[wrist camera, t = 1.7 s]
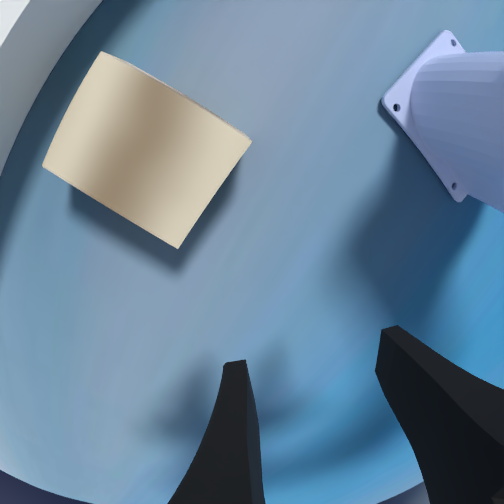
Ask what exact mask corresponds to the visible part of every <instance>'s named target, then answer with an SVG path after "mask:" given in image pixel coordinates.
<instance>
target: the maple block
mask: <svg viewBox="0 0 504 504" xmlns="http://www.w3.org/2000/svg"><path fill="white" fill-rule="evenodd" d="M251 143H252V141H251V140H250V139H249V138H248V137H247V135H246V134H244V133H243V132H241V131H240V130H238V129H237V128H235V127H234V126H232V125H231V124H229V123H228V122H226V121H225V120H223V119H222V118H220V117H219V116H217V115H216V114H214V113H212V112H211V111H209V110H208V109H206V108H205V107H203V106H201V105H200V104H198V103H197V102H195V101H193V100H192V99H190V98H189V97H187V96H185V95H184V94H182V93H180V92H179V91H177V90H175V89H174V88H172V87H170V86H169V85H167V84H165V83H164V82H162V81H160V80H158V79H157V78H155V77H153V76H151V75H150V74H148V73H146V72H144V71H143V70H141V69H139V68H137V67H135V66H133V65H132V64H130V63H128V62H126V61H124V60H122V59H119V58H117V57H114V56H112V55H110V54H107V53H105V52H102V51H101V52H100V54H99V55H98V57H97V58H96V60H95V61H94V63H93V65H92V66H91V68H90V70H89V71H88V73H87V75H86V76H85V78H84V80H83V82H82V83H81V85H80V87H79V89H78V90H77V92H76V94H75V96H74V98H73V100H72V102H71V103H70V105H69V107H68V109H67V111H66V113H65V115H64V117H63V119H62V121H61V123H60V125H59V128H58V130H57V132H56V134H55V136H54V138H53V141H52V143H51V145H50V148H49V150H48V152H47V155H46V157H45V159H44V162H43V164H42V166H43V167H44V168H46V169H47V170H49V171H50V172H52V173H54V174H55V175H57V176H58V177H60V178H61V179H63V180H65V181H66V182H68V183H69V184H71V185H73V186H74V187H76V188H77V189H79V190H81V191H82V192H84V193H85V194H87V195H89V196H90V197H92V198H93V199H95V200H97V201H98V202H100V203H102V204H103V205H105V206H106V207H108V208H110V209H111V210H113V211H115V212H116V213H118V214H120V215H121V216H123V217H125V218H126V219H128V220H129V221H131V222H133V223H134V224H136V225H138V226H140V227H141V228H143V229H145V230H146V231H148V232H150V233H151V234H153V235H155V236H156V237H158V238H160V239H161V240H163V241H165V242H167V243H168V244H170V245H172V246H173V247H175V248H177V249H178V248H179V247H180V245H181V244H182V242H183V241H184V239H185V238H186V236H187V234H188V233H189V231H190V230H191V228H192V227H193V225H194V224H195V222H196V221H197V219H198V218H199V217H200V215H201V214H202V212H203V211H204V209H205V208H206V206H207V205H208V203H209V202H210V200H211V199H212V197H213V196H214V195H215V193H216V192H217V190H218V189H219V187H220V186H221V185H222V183H223V182H224V180H225V179H226V177H227V176H228V175H229V173H230V172H231V170H232V169H233V168H234V166H235V165H236V163H237V162H238V161H239V159H240V158H241V156H242V155H243V154H244V152H245V151H246V150H247V148H248V147H249V146H250V144H251Z"/></svg>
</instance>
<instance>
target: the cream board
mask: <svg viewBox="0 0 504 504" xmlns="http://www.w3.org/2000/svg"><path fill="white" fill-rule="evenodd" d="M102 1H103V0H0V176H1V173H2V171H3V168H4V165H5V163H6V160H7V158H8V155H9V153H10V151H11V148H12V146H13V144H14V141H15V139H16V137H17V135H18V133H19V130H20V128H21V126H22V124H23V122H24V120H25V118H26V116H27V114H28V112H29V110H30V108H31V106H32V104H33V102H34V101H35V99H36V97H37V95H38V93H39V92H40V90H41V88H42V86H43V85H44V83H45V81H46V79H47V78H48V76H49V74H50V73H51V71H52V70H53V68H54V66H55V65H56V63H57V62H58V60H59V59H60V57H61V55H62V54H63V52H64V51H65V49H66V48H67V47H68V45H69V44H70V42H71V41H72V39H73V38H74V37H75V35H76V34H77V32H78V31H79V30H80V28H81V27H82V26H83V24H84V23H85V22H86V21H87V19H88V18H89V17H90V15H91V14H92V13H93V12H94V10H95V9H96V8H97V7H98V6H99V4H100V3H101V2H102Z"/></svg>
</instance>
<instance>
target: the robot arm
mask: <svg viewBox="0 0 504 504" xmlns="http://www.w3.org/2000/svg"><path fill="white" fill-rule="evenodd" d="M451 41H452V43H453V46H452V44H451ZM381 101H382V105H383V106H384V108H385V109H386V110H387V111H388V112H389V113H390V115H391V116H392V117H393V118H394V119H395V120H396V122H397V123H398V124H399V125H400V126H401V128H402V129H403V130H404V131H405V133H406V134H407V135H408V136H409V138H410V139H411V140H412V141H413V143H414V144H415V145H416V147H417V148H418V149H419V150H420V152H421V153H422V154H423V156H424V157H425V158H426V160H427V161H428V163H429V164H430V165H431V167H432V168H433V169H434V171H435V172H436V174H437V175H438V177H439V178H440V179H441V181H442V182H443V184H444V185H445V187H446V188H447V190H448V191H449V193H450V194H451V196H452V198H453V199H454V200H455V201H457V202H461V201H463V199H464V198H465V197H466V196H467V194H468V195H470V196H472V197H474V198H476V199H478V200H480V201H482V202H484V203H486V204H487V205H489V206H491V207H493V208H495V209H497V210H498V211H500V212H502V213H504V51H499V52H473V53H466V52H465V51H464V49H463V48H462V46H461V45H460V44H459V42H458V41H457V39H456V38H455V37H454V35H453V34H452V33H451V32H450V31H448V30H444V31H441V33H440V34H439V35H438V36H437V37H436V38H435V39H434V40H433V41H432V42H431V43H430V45H429V46H428V47H427V48H426V49H425V50H424V51H423V52H422V53H421V54H420V55H419V57H418V58H417V59H416V60H415V61H414V62H413V63H412V64H411V65H410V66H409V68H408V69H407V70H406V71H405V72H404V73H403V74H402V75H401V76H400V77H399V78H398V80H397V81H396V82H395V83H394V84H393V85H392V86H391V87H390V88H389V90H388V91H387V92H386V93H385V94H384V95H383V97H382V100H381ZM394 104H396V105H397V110H396V111H394V109H393V106H394ZM453 183H454V186H453V187H452V184H453ZM375 372H376V375H377V377H378V380H379V383H380V385H381V388H382V390H383V393H384V395H385V397H386V399H387V401H388V403H389V405H390V407H391V408H392V410H393V412H394V414H395V416H396V418H397V420H398V421H399V423H400V425H401V427H402V429H403V431H404V433H405V434H406V436H407V438H408V440H409V442H410V444H411V446H412V449H413V451H414V453H415V456H416V459H417V462H418V464H419V467H420V470H421V473H422V476H423V479H424V482H425V485H426V489H427V492H428V497H429V501H430V504H504V390H503V389H501V388H499V387H496V386H494V385H492V384H490V383H488V382H486V381H484V380H482V379H480V378H478V377H476V376H474V375H472V374H470V373H469V372H467V371H465V370H464V369H462V368H460V367H458V366H457V365H455V364H454V363H452V362H450V361H449V360H447V359H446V358H444V357H443V356H441V355H440V354H438V353H437V352H435V351H434V350H432V349H431V348H429V347H428V346H427V345H425V344H424V343H422V342H421V341H419V340H418V339H417V338H415V337H414V336H412V335H411V334H409V333H408V332H407V331H405V330H404V329H402V328H401V327H399V326H398V325H396V326H393V327H389V328H386V329H382V330H381V337H380V344H379V350H378V356H377V362H376V368H375ZM168 504H265V498H264V492H263V483H262V468H261V452H260V436H259V423H258V417H257V412H256V406H255V400H254V395H253V391H252V386H251V382H250V377H249V373H248V368H247V364H246V360H239V361H233V362H227V363H225V365H224V366H223V374H222V379H221V384H220V388H219V392H218V396H217V400H216V403H215V406H214V409H213V412H212V415H211V418H210V421H209V424H208V427H207V429H206V432H205V434H204V437H203V439H202V442H201V444H200V446H199V449H198V451H197V453H196V455H195V457H194V459H193V461H192V463H191V465H190V467H189V469H188V471H187V473H186V475H185V476H184V478H183V480H182V481H181V483H180V485H179V487H178V488H177V490H176V492H175V493H174V495H173V496H172V498H171V499H170V501H169V502H168Z"/></svg>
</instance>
